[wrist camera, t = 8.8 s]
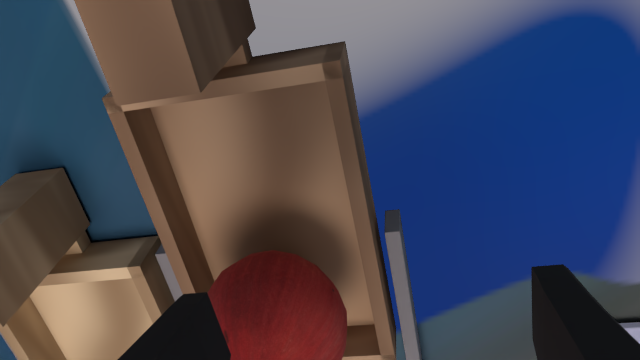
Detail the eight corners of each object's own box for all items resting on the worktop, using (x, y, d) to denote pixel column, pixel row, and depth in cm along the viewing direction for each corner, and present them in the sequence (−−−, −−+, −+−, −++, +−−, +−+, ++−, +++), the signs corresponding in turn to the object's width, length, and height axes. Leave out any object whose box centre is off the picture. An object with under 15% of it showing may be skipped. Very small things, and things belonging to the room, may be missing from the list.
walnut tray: (323, -80, 18) (290, -55, 12) (395, 327, 26) (396, 453, 20) (87, -30, 19) (-39, 13, 14) (227, 337, 28) (185, 456, 22)
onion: (254, 323, 27) (206, 483, 20) (204, 230, 24) (128, 376, 17) (369, 302, 25) (360, 467, 18) (327, 199, 23) (298, 346, 16)
